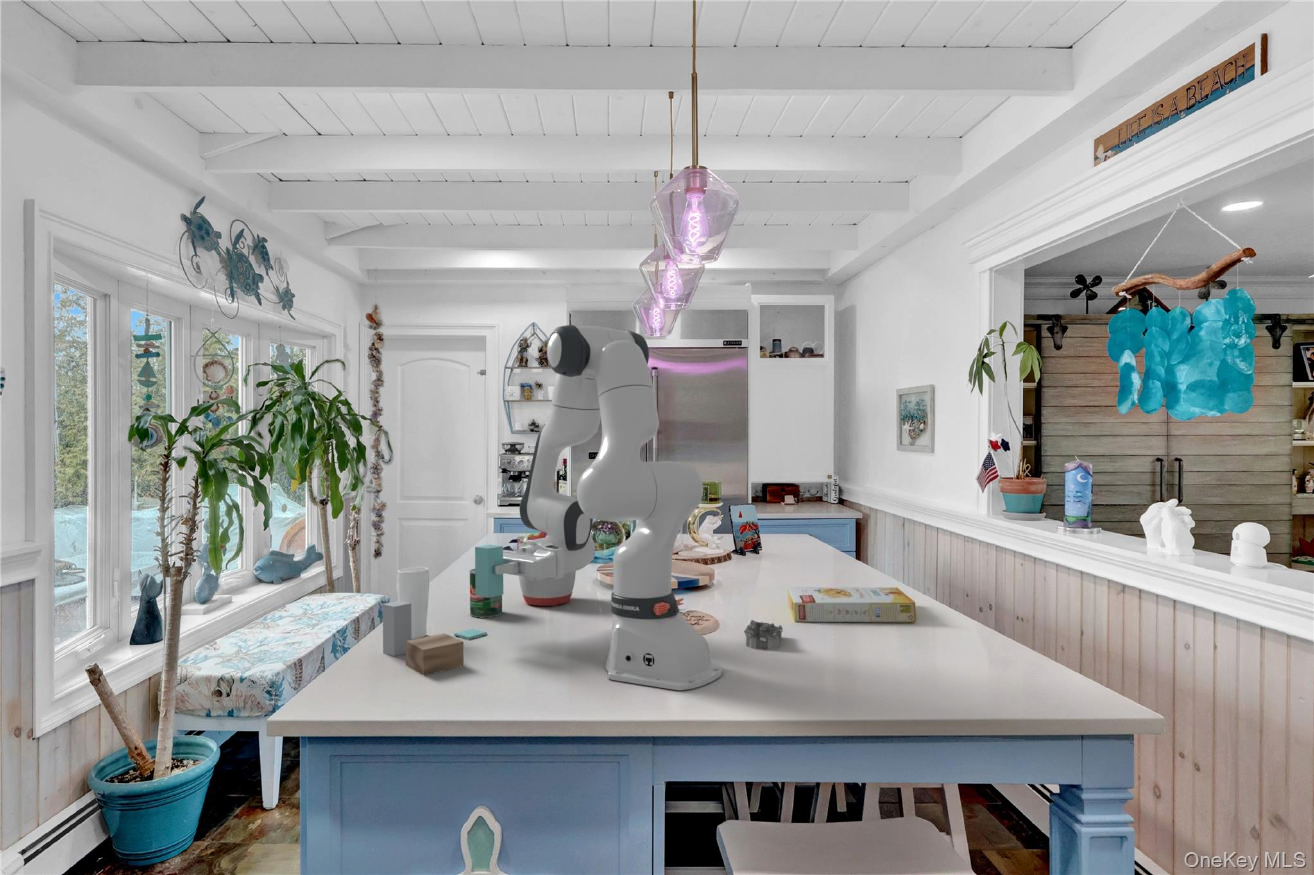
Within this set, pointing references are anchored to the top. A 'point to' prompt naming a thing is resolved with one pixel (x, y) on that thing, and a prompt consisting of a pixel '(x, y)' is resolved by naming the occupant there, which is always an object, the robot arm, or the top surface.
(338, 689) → the top surface
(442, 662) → the base block
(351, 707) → the top surface
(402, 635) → the grey block
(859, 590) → the cereal box
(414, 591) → the drinking glass
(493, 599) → the canned tomato
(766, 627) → the egg carton
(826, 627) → the top surface
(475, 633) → the tile
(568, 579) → the citrus juicer
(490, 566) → the teal block
